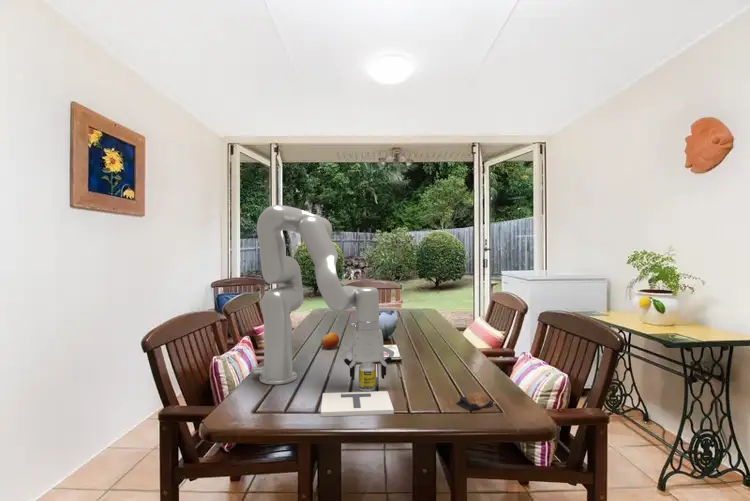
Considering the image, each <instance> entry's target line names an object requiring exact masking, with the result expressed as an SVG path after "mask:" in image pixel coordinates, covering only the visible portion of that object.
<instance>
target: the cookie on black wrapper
mask: <svg viewBox="0 0 750 501" xmlns="http://www.w3.org/2000/svg"><path fill="white" fill-rule="evenodd" d="M494 405H497V403H496V402H495V401H492V400H491V398H490V397H488V396H487V395H486V394H484V393H481V392H478V391H477V392H472V393H469V394H468V395H466V396H460V397H459V401H458V402H456V406H458V407H459V408H460V407H461V408H463V409H464V410H466V411H470V412H479V411H482V410H485V409H488V408H492V407H493V406H494Z"/></svg>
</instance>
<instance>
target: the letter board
mask: <svg viewBox="0 0 750 501" xmlns="http://www.w3.org/2000/svg"><path fill="white" fill-rule="evenodd" d="M394 412H395V411H394V407H393V403H392V400H391V397H390V395H389V392H388V390H386V391H385V390H384V391H383V390H382V391H381V390H380V391H379V390H378V391H377V390H376V391H350V392H346V391H345V392H323V393H322V397H321V408H320V417H322V418H323V417H343V416H345V417H347V416H350V417H351V416H374V415H377V416H378V415H395V413H394Z"/></svg>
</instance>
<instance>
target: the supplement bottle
mask: <svg viewBox="0 0 750 501" xmlns="http://www.w3.org/2000/svg"><path fill="white" fill-rule="evenodd" d="M358 389H359V390H360V391H361V392H373V391H374V390H376V366H375V365H374V362H363V363H360V365H359V366H358Z"/></svg>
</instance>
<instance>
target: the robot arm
mask: <svg viewBox="0 0 750 501" xmlns="http://www.w3.org/2000/svg"><path fill="white" fill-rule="evenodd" d="M282 231H290V232H294V233H298V234H299V235H300V238H301V239H302V241H303V244H304V246H305V248H306V249H307V252H308V253H309V256H310V257H311V260H312V262H313V264H314V265H313V266H314V274H315V279H316V284H317V287H318V290H319V292H320V294H321V296H322V298H323V300H324V302H325V304H326V305H327V307H328V308H329V309H330V310H331V311H334V312H336V313H342V312H344V311H346V310H349V309H352V308H355V320H354V321H353V322H351V327H353V328H354V330H353V332H352V333H353V334H352V341H351V347H350V348H348V349H346V350H343V351H342V352H341V353H340V357H341V359H342V360H343V362H344V363H345V364H346V365H347V366H348V367H349V377H350V378H351V380H352V381H354V380H355V364H356V363H358V364H359V363H360V364H361V363H363V362H373V363H378V362H380V363H381V364H380V377H381V379H382V380H385V376H387V366H388V364H390V363H391V361H392V359H393V357H394V355H395V351H394V350H392V349H390V348H388V347H386V346H385V345H384V336H383V331H382V329H381V328H380V315H379V314H380V306H379V304H380V303H379V295H380V294H379V290H378V288H376V287H372V286H364V287H359V286H353V285H344V286H343V284H342V283H341V281H340V279H339V276H338V273H337V270H336V269H337V266H336V265H337V261H338V257H339V254H338V250H336V247H335V245H334V243H333V241H332V240H331V236H332V233H333V227H332V223H331V222H330V220H328V219H327V218H325V217H323V216H319V215H316V214H313V213H311V212H309V211H306V210H303V209H300V208H298V207H293V206H288V205H283V204H282V205H281V204H276V205H275V204H274V205H270V206H268V207H266V208H265V209H264V210H263V211H262V212H261V213H260V215H259V217H258V219H257V222H256V233H257V239H258V246H259V256H260V265H261V274H262V278H263V279H264V281H265V282H266V283H267V284H270V285H271V284H272V285H278V287H274V288H271V289H268V291H266V292H265V293H264V294H263V295H262V298H261V306H260V307H261V312H262V316H263V318H262V319H263V336H264V337H263V341H264V342H263V348H264V349H263V352H264V354H263V357H264V358H263V361H264V362H263V363H264V364H263V365H261V367H260V366H253V367H251V370H250V371H251V374H253V375H260V376H259V382H261V383H263V384H266V385H283V384H288V383H292V382H294V381H295V380H297V378H298V374H297V372H296V371H294V370H293V323H292V319H291V315H290V313H292V312H294V311H296V310H299V309H300V307H301V306H302V304H303V302H304V289H303V280H302V279H303V277H302V271H301V267H300V265H299V263H298V261H297V260H296V258H294V257H292V256H290V255H289V256H288V255H287V253H286V246H285V242H284V238H283V236H282ZM385 353H386V354H388V355H387V357H386V358H385ZM349 354H351V360H350V359H349V358H348V357H347V356H348V355H349Z"/></svg>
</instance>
